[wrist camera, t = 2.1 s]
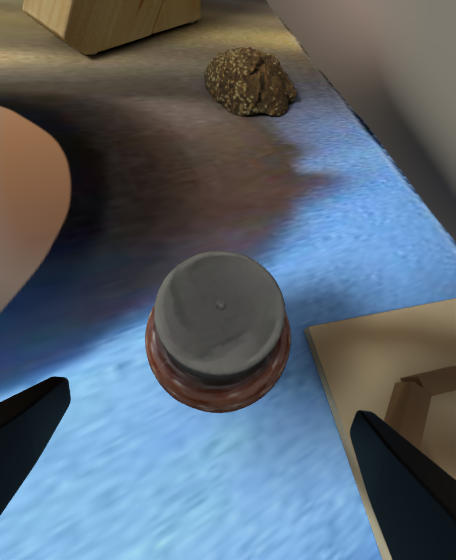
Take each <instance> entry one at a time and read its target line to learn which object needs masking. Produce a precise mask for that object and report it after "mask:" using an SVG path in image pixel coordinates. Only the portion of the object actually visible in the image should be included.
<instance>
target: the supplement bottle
mask: <svg viewBox="0 0 456 560" xmlns="http://www.w3.org/2000/svg"><path fill="white" fill-rule="evenodd" d="M145 343H146V353H147V358H148V361H149V365H150V367H151V370H152V372H153V373H154V375H155V377H156V379H157V380H158V382H159V383H160V384H161V386H162V387H163V388H164V389H165V391H166V392H168V393H169V394H170V395H171V396H172V397H173V398H174V399H176V400H177V401H179V402H181V403H183V404H185V405H187V406H189V407H192V408H195V409H198V410H202V411H205V412H211V413H225V412H232V411H236V410H239V409H242V408H244V407H247V406H249V405H251V404H253V403H255V402H256V401H258V400H259V399H261V398H262V397H263V396H265V395H266V394H267V393H268V392H269V391H270V390H271V389H272V387H273V386H274V385H275V383H276V382H277V381H278V379H279V378H280V376H281V375H282V372H283V371H284V368H285V365H286V362H287V360H288V356H289V351H290V345H291V334H290V326H289V320H288V318H287V315H286V311H285V304H284V300H283V296H282V292H281V290H280V288H279V286H278V284H277V282H276V281H275V279H274V278H273V276H272V275H271V274H270V273H269V272H268V271H267V270H266V269H265V268H264V267H263V266H262V265H260V264H259V263H258V262H256V261H255V260H253V259H251V258H249V257H247V256H244V255H241V254H238V253H233V252H227V251H212V252H204V253H201V254H198V255H196V256H193V257H191V258H189V259H187V260H185V261H184V262H183V263H180V264H178V265H177V266H176V268H175V269H173V270H172V271H171V272H170V273H169V274H168V276H167V277H166V278H165V279H164V281H163V283H162V285H161V287H160V289H159V291H158V294H157V298H156V301H155V305H154V306H153V308H152V310H151V313H150V315H149V318H148V322H147V327H146V333H145Z"/></svg>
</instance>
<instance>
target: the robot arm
mask: <svg viewBox="0 0 456 560" xmlns="http://www.w3.org/2000/svg"><path fill="white" fill-rule="evenodd" d="M70 400H71V396H70V389H69V381H68V379H67V378H64V377H50V378H48V379H46V380H44V381H42V382H40V383H38V384H36V385H34V386H32V387H30V388H28V389H26V390H24V391H22V392H20V393H18V394H16V395H14V396H12V397H10V398H8V399H6V400H4V401H2V402H0V515H1V514H2V512H3V511H4V509H5V508H6V506H7V505H8V503H9V502H10V501H11V499H12V498H13V496H14V495H15V493H16V492H17V490H18V489H19V487H20V486H21V484H22V483H23V482H24V480H25V479H26V477H27V476H28V474H29V473H30V471H31V470H32V468H33V467H34V465H35V464H36V462H37V461H38V459H39V457H40V456H41V454H42V452H43V451H44V449H45V447H46V445H47V444H48V442H49V440H50V438H51V437H52V435H53V433H54V431H55V430H56V428H57V426H58V424H59V423H60V421H61V419H62V417H63V416H64V414H65V412H66V410H67V409H68V407H69V404H70ZM350 438H351V442H352V445H353V448H354V452H355V455H356V458H357V462H358V465H359V469H360V472H361V475H362V479H363V482H364V485H365V489H366V492H367V495H368V498H369V501H370V503H371V506H372V509H373V511H374V514H375V516H376V519H377V522H378V524H379V527H380V529H381V532H382V535H383V537H384V540H385V542H386V545H387V547H388V550H389V553H390V555H391V558H392V560H456V480H455V479H454V478H453V477H452V476H450V475H449V474H448V473H447V472H445V471H444V470H443V469H442V468H441V467H439V466H438V465H437V464H436V463H434V462H433V461H432V460H431V459H430V458H428V457H427V456H426V455H425V454H423V453H422V452H421V451H420V450H419V449H417V448H416V447H415V446H414V445H413V444H411V443H410V442H409V441H408V440H406V439H405V438H404V437H403V436H402V435H400V434H399V433H398V432H397V431H395V430H394V429H393V428H392V427H391V426H389V425H388V424H387V423H386V422H384V421H383V420H382V419H381V418H380V417H378V416H377V415H376V414H375V413H373V412H371V411H365V410H358V411H357V412H356V414H355V417H354V419H353V422H352V425H351V428H350Z"/></svg>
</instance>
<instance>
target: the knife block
mask: <svg viewBox="0 0 456 560" xmlns="http://www.w3.org/2000/svg"><path fill="white" fill-rule="evenodd" d="M23 11H24V13H26V14H27V15H28V16H30V17H31V18H32V19H34V20H35V21H36V22H38V23H39V24H40V25H42V26H43V27H44V28H46V29H47V30H48V31H50V32H51V33H53V34H54V35H56V36H57V37H59V38H60V39H61V40H63V41H64V42H66V43H67V44H69V45H70V46H71V47H73V48H74V49H76V50H78V51H79V52H81V53H83V54H84V55H87V54H89V55H95V54H97V52H100V51H103V50H106V49H109V48H112V47H116V46H119V45H122V44H125V43H128V42H131V41H134V40H137V39H141V38H143V37H146V36H149V35H151V34H154V33H157V32H160V31H164V30H167V29H170V28H174V27H177V26H180V25H183V24H186V23H194V22H195V21H196V20H199V19H200V18H201V0H24V3H23Z"/></svg>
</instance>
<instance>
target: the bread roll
mask: <svg viewBox="0 0 456 560" xmlns="http://www.w3.org/2000/svg"><path fill="white" fill-rule="evenodd" d="M204 78H205V84H206V88H207V90H208V91H209V93H210V94H211V95H212V97H213V99H214V100H215V101H216V102H218V103H220V104H222V106H224V107H225V108H226V109H227V110H228V111H229V112H230V113H232V114H235V115H238V116H248V115H253V114H258V113H262V114H268V115H269V116H271V117H280V116H282V115H284V114H285V113H286V111H287V109H288V104H290V103H292V102H293V101H294V100H295V98H296V96H295V95H296V94H297V93H296V90H295V89H294V86H293V84H292V83H291V81H290V80H289V79H288V75H287V74H286V73H284V71H283V69H282V68H281V66H280V62H279V60H278V59H276V58H275V55H273V54H270V53H268V54H266V53H263V52H262V51H259V50H254V49H252V48H251V47H249V48H242V47H241V48H236V49H231V50H227V51H226V52H224V53H218V54H217V57H216V58H213V60H212V61H211V62H210V63H209V64H208V65H207V68H206V70H205V75H204Z"/></svg>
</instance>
